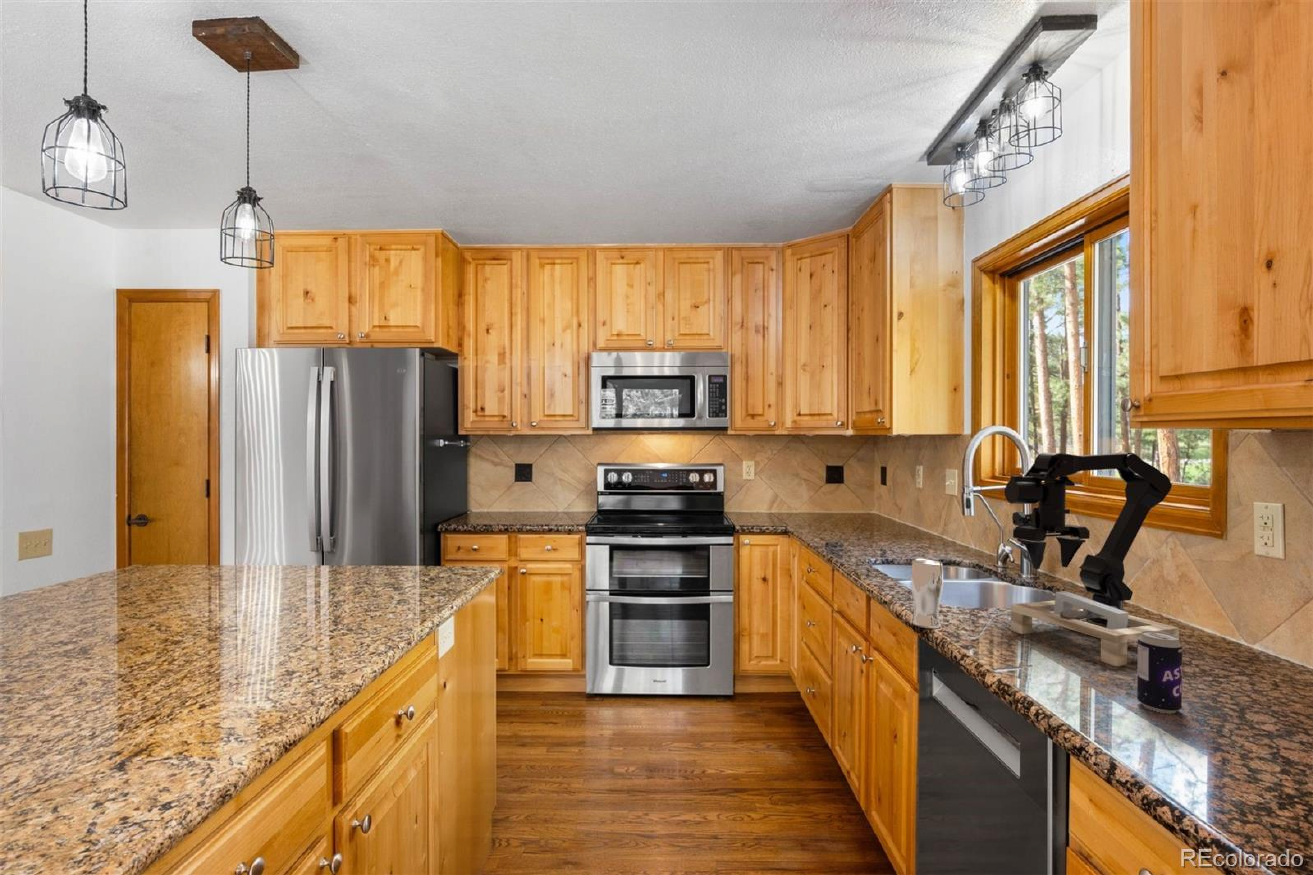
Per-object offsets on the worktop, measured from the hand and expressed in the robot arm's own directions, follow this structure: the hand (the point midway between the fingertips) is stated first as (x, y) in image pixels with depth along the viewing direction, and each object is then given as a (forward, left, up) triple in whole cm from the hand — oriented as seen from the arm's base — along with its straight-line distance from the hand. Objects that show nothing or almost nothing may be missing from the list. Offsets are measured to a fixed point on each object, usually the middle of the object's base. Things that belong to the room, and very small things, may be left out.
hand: (1050, 568), depth 153 cm
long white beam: (+7, +15, -10) cm, 19 cm away
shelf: (+7, +15, -13) cm, 21 cm away
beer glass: (+32, -6, -13) cm, 35 cm away
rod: (+7, +15, -7) cm, 18 cm away
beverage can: (+29, +43, -13) cm, 53 cm away
